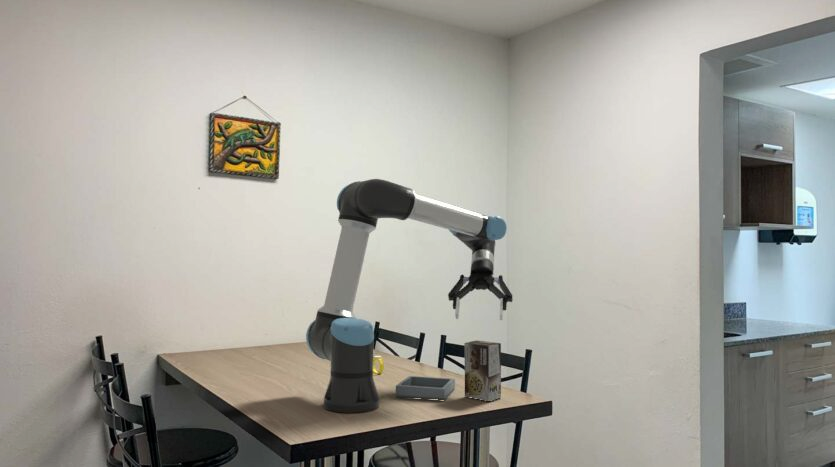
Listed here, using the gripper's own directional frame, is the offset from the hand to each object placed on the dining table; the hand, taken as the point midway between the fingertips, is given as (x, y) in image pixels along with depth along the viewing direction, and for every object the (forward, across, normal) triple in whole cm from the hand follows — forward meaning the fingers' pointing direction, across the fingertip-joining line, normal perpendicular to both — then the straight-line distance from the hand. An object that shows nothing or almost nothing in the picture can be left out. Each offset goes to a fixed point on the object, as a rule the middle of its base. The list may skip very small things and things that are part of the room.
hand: (478, 317), depth 189 cm
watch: (+2, +37, -30) cm, 47 cm away
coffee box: (+22, -2, -10) cm, 25 cm away
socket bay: (+21, +15, -10) cm, 28 cm away
